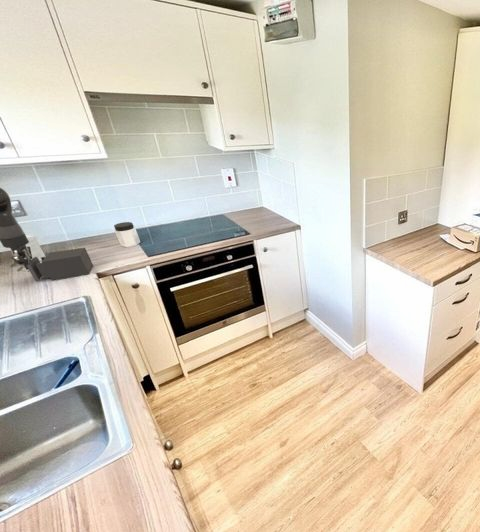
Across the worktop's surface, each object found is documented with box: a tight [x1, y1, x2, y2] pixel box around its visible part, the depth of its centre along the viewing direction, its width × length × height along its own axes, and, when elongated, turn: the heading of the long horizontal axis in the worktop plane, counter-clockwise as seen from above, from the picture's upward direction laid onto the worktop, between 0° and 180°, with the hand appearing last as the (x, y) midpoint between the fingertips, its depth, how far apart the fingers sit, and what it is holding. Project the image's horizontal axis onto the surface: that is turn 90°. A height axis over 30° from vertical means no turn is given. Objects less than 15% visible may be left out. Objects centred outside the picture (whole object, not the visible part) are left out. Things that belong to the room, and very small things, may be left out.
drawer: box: [13, 257, 51, 282], centre depth 146 cm, size 17×10×8 cm, turn 122°
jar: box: [113, 221, 141, 248], centre depth 180 cm, size 9×8×12 cm
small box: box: [9, 233, 47, 262], centre depth 158 cm, size 8×6×13 cm
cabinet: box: [41, 247, 94, 282], centre depth 150 cm, size 13×11×10 cm
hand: (31, 270), depth 144 cm, fingers closed
